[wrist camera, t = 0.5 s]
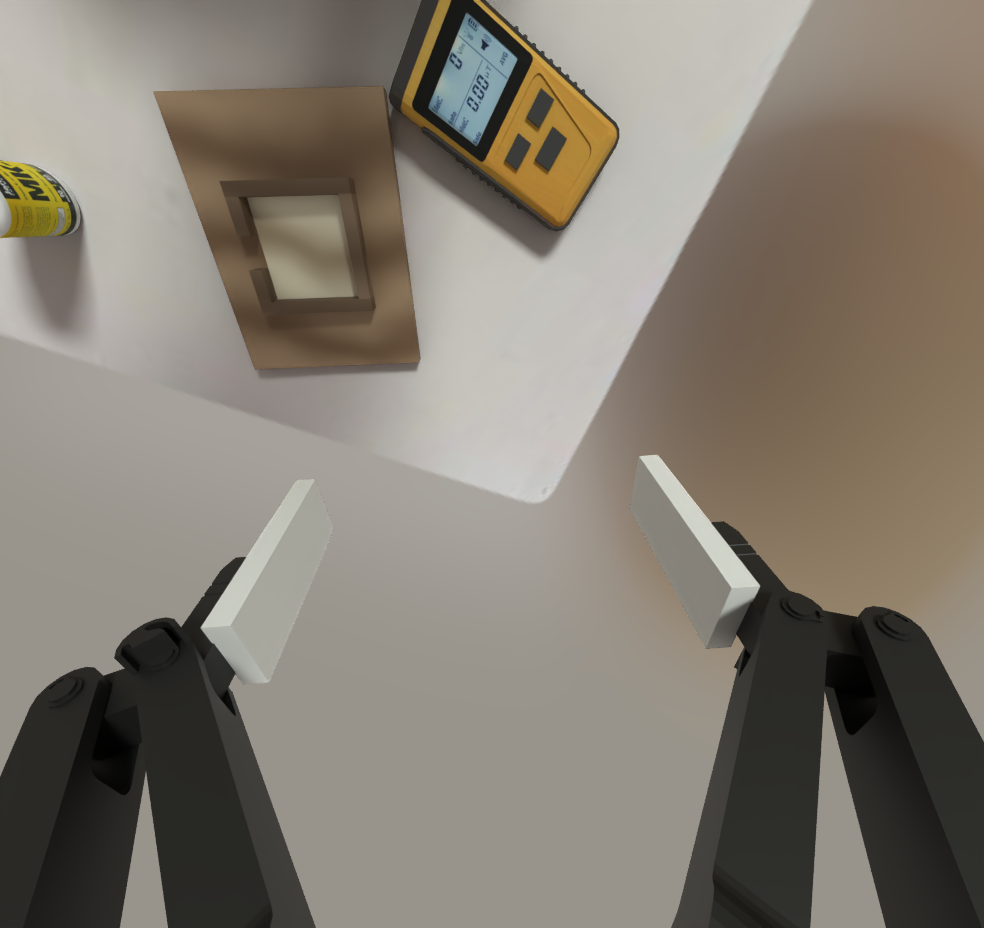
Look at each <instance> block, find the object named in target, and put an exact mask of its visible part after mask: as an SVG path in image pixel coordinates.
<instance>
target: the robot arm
mask: <svg viewBox="0 0 984 928" xmlns="http://www.w3.org/2000/svg"><path fill="white" fill-rule="evenodd" d="M630 510H631V512H632V514H633V516H634V518H635V520H636V522H637V523H638V525H639V527H640V529H641V530H642V533H643V534H644V536H645V538H646V540H647V542H648V544H649V545H650V547H651V549H652V551H653V553H654V555H655V556H656V558H657V560H658V562H659V564H660V566H661V567H662V569H663V571H664V573H665V575H666V577H667V578H668V580H669V582H670V584H671V586H672V587H673V589H674V591H675V593H676V595H677V597H678V599H679V601H680V602H681V604H682V606H683V608H684V610H685V611H686V613H687V615H688V617H689V619H690V621H691V623H692V624H693V626H694V628H695V630H696V632H697V634H698V635H699V637H700V639H701V641H702V643H703V645H704V646H705V648H706V649H709V648H723V647H731V646H732V644H733V641H734V639H735V637H736V635H737V636H738V637H739V639H740V640H741V642H742V644H743V645H744V649H743V651H742V653H741V655H740V656H739V659H738V660H737V662H736V664H735V666H734V667H735V668H736V669H737V673H736V677H735V681H734V685H733V689H732V693H731V697H730V702H729V705H728V710H727V714H726V718H725V722H724V726H723V730H722V734H721V738H720V742H719V746H718V751H717V755H716V758H715V763H714V767H713V771H712V775H711V779H710V783H709V787H708V791H707V795H706V799H705V803H704V807H703V811H702V816H701V820H700V824H699V828H698V832H697V836H696V841H695V844H694V848H693V852H692V857H691V860H690V864H689V869H688V873H687V877H686V881H685V885H684V889H683V893H682V897H681V901H680V905H679V908H678V912H677V914H676V917H675V920H674V922H673V924H672V927H671V928H810V922H811V906H812V888H813V873H814V856H815V840H816V823H817V806H818V790H819V774H820V757H821V740H822V724H823V707H824V691H825V694H826V698H827V702H828V705H829V709H830V712H831V717H832V721H833V725H834V728H835V732H836V736H837V740H838V744H839V748H840V751H841V756H842V760H843V763H844V767H845V771H846V775H847V779H848V783H849V786H850V790H851V794H852V798H853V802H854V806H855V809H856V813H857V817H858V821H859V825H860V829H861V833H862V837H863V841H864V844H865V848H866V852H867V856H868V860H869V864H870V868H871V872H872V875H873V879H874V883H875V887H876V891H877V894H878V898H879V902H880V906H881V910H882V914H883V918H884V921H885V926H886V928H984V742H983V740H982V738H981V736H980V734H979V732H978V730H977V728H976V727H975V725H974V723H973V721H972V719H971V717H970V715H969V713H968V711H967V709H966V708H965V706H964V704H963V702H962V700H961V698H960V696H959V694H958V692H957V691H956V689H955V687H954V685H953V683H952V681H951V679H950V677H949V675H948V673H947V672H946V670H945V668H944V666H943V664H942V662H941V660H940V658H939V656H938V655H937V653H936V651H935V649H934V647H933V645H932V643H931V641H930V639H929V637H928V636H927V635H926V633H925V632H924V631H923V630H922V628H921V627H920V626H918V625H917V624H916V623H915V622H913V621H912V620H911V619H909V618H907V617H906V616H904V615H902V614H900V613H898V612H896V611H893V610H890V609H887V608H884V607H876V606H872V607H868V608H865V609H864V610H863V611H862V612H861V614H860V615H859V616H858V617H855V616H849V615H844V614H839V613H833V612H828V611H824V610H822V608H821V607H820V606H819V605H818V604H816V603H815V602H814V601H813V600H811V599H809V598H807V597H805V596H803V595H802V594H799V593H795V592H792V591H789V590H788V589H787V588H786V587H785V586H784V585H783V583H782V582H781V581H780V580H779V579H778V577H777V576H776V575H775V574H774V573H773V572H772V570H771V569H770V568H769V567H768V566H767V564H766V563H765V562H764V561H763V560H762V559H761V557H760V556H759V555H756V551H755V550H754V549H753V548H752V547H751V546H750V545H748V542H747V541H746V540H745V539H744V537H743V536H742V535H741V534H740V533H739V532H738V531H737V530H736V529H734V528H733V527H731V526H730V525H728V524H727V523H725V522H724V521H723V522H710V521H709V520H708V518H707V517H706V516H705V515H704V514H703V512H702V511H701V510H700V508H699V507H698V506H697V504H696V503H695V502H694V501H693V499H692V498H691V497H690V495H688V493H687V492H686V490H685V489H684V488H683V487H682V485H681V484H680V483H679V482H678V480H677V479H676V478H675V476H674V475H673V474H672V473H671V471H670V470H669V469H668V467H667V466H666V465H665V464H664V462H663V461H662V460H661V458H660V457H659V456H658V455H651V456H639V460H638V465H637V471H636V476H635V482H634V487H633V493H632V498H631V504H630ZM333 531H334V529H333V526H332V523H331V520H330V518H329V515H328V513H327V509H326V507H325V504H324V501H323V498H322V496H321V493H320V490H319V487H318V484H317V482H316V479H306V480H296V481H295V483H294V485H293V486H292V488H291V489H290V491H289V492H288V494H287V495H286V497H285V499H284V500H283V502H282V503H281V505H280V506H279V508H278V509H277V511H276V513H275V514H274V516H273V517H272V519H271V520H270V522H269V523H268V525H267V526H266V528H265V529H264V531H263V532H262V534H261V535H260V537H259V539H258V540H257V542H256V543H255V545H254V546H253V548H252V550H251V551H250V553H249V554H248V556H247V557H238V558H235V559H234V560H232V561H231V562H230V563H229V564H228V565H226V566H225V567H224V568H223V569H222V570H221V571H220V572H219V574H218V575H217V577H216V578H215V580H214V581H213V583H212V586H210V587H209V588H208V590H207V591H206V593H205V596H204V597H202V598H201V600H200V601H199V603H198V604H197V606H196V607H195V608H194V610H193V611H192V613H191V614H190V616H189V617H188V619H187V620H186V621H185V623H184V624H183V626H182V627H180V626H179V624H178V623H177V622H176V621H175V619H171V618H160V619H155V620H153V621H150V622H148V623H145V624H143V625H142V626H140V627H139V628H137V629H136V630H134V631H132V632H131V633H130V634H129V635H128V636H127V637H126V638H125V639H124V640H123V641H122V642H121V643H120V645H119V646H118V648H117V649H116V653H115V657H114V658H115V659H116V660H117V661H118V662H119V663H120V664H121V665H122V666H123V667H124V668H125V669H122V670H119V671H116V672H113V673H110V674H107V675H104V676H103V675H102V674H101V673H100V672H99V671H98V670H96V669H95V668H93V667H84V668H80V669H77V670H74V671H71V672H69V673H67V674H66V675H63V676H62V677H60V678H58V679H57V680H56V681H54V682H53V683H51V684H50V685H49V686H47V687H46V688H45V689H44V690H43V691H42V692H41V693H40V694H39V695H38V696H37V697H36V699H35V700H34V702H33V704H32V705H31V707H30V709H29V711H28V713H27V716H26V718H25V721H24V723H23V725H22V727H21V730H20V732H19V734H18V736H17V739H16V741H15V744H14V746H13V748H12V751H11V753H10V755H9V758H8V760H7V762H6V764H5V767H4V769H3V771H2V774H1V776H0V928H120V923H121V917H122V911H123V905H124V899H125V893H126V887H127V881H128V875H129V869H130V863H131V857H132V851H133V845H134V839H135V833H136V827H137V821H138V815H139V809H140V803H141V797H142V790H143V785H144V778H145V773H147V780H148V787H149V794H150V801H151V809H152V816H153V823H154V830H155V837H156V844H157V852H158V858H159V866H160V872H161V880H162V887H163V894H164V901H165V909H166V915H167V923H168V928H316V927H315V924H314V921H313V919H312V916H311V913H310V910H309V907H308V904H307V902H306V899H305V896H304V893H303V890H302V887H301V885H300V882H299V879H298V876H297V873H296V870H295V868H294V865H293V862H292V859H291V856H290V854H289V851H288V848H287V845H286V843H285V839H284V837H283V834H282V831H281V828H280V825H279V822H278V820H277V817H276V814H275V811H274V808H273V806H272V803H271V800H270V797H269V794H268V791H267V789H266V786H265V783H264V780H263V777H262V774H261V772H260V769H259V766H258V764H257V760H256V757H255V755H254V752H253V749H252V746H251V743H250V740H249V738H248V735H247V732H246V729H245V726H244V723H243V721H242V718H241V715H240V712H239V709H238V706H237V704H236V701H235V698H234V695H233V692H232V691H231V690H230V689H229V685H230V683H231V681H232V679H233V677H234V675H235V674H236V676H237V677H238V678H239V680H240V681H241V682H242V684H256V683H269V681H270V679H271V677H272V674H273V672H274V669H275V667H276V665H277V662H278V660H279V658H280V655H281V653H282V651H283V648H284V646H285V644H286V641H287V639H288V637H289V634H290V632H291V630H292V627H293V625H294V623H295V620H296V618H297V616H298V613H299V611H300V608H301V606H302V604H303V602H304V599H305V597H306V595H307V592H308V590H309V587H310V585H311V583H312V580H313V578H314V576H315V573H316V571H317V569H318V566H319V564H320V562H321V559H322V557H323V555H324V552H325V550H326V548H327V545H328V543H329V541H330V538H331V536H332V534H333Z"/></svg>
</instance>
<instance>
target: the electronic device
mask: <svg viewBox="0 0 984 928" xmlns="http://www.w3.org/2000/svg"><path fill="white" fill-rule="evenodd" d="M389 99H390V103H391V104H392V105H393V107H394V108H396V109H397V110H398V111H400V112H401V113H402V114H404V115H405V116H406V117H408V118H409V119H410V120H412V121H413V122H414V123H416V124H417V125H418V126H419V127H421V128H422V131H423V133H424V134H425V135H427V136H428V137H429V138H431V139H432V140H433V141H435V142H436V143H437V144H438V145H440V146H441V147H442V148H444V149H445V150H446V151H448V152H449V153H450V154H452V155H453V156H454V157H455V158H456V161H457V162H460V161H461V162H462V163H463V164H464V168H468V167H469V168H470V169H471V170H472V174H478V175H479V176H480V180H483V179H484V180H486V181H487V182H488V186H491V185H492V186H493V187H495V191H496V192H498V191H500V192H501V193H503V197H504V198H505V197H508V198H509V199H510V203H516V204H517V208H518V209H521V208H522V209H523V210H525V211H526V212H527V213H529V214H530V215H531V216H533V217H534V218H535V219H537V220H538V221H539V222H541V223H542V224H543V225H544V226H546V227H547V228H548V229H551V230H554V231H559V230H563V229H564V228H565V227H566V226H567V225H568V224H569V223H570V221H571V220H572V218H573V216H574V215H575V213H576V212H577V210H578V208H579V207H580V205H581V203H582V202H583V200H584V198H585V197H586V195H587V194H588V192H589V190H590V189H591V187H592V185H593V184H594V182H595V181H596V179H597V177H598V176H599V174H600V172H601V171H602V169H603V167H604V166H605V164H606V163H607V161H608V159H609V158H610V156H611V154H612V153H613V151H614V149H615V148H616V145H617V143H618V140H619V128H618V126H617V124H616V122H615V121H613V120H612V119H611V118H610V117H609V116H608V115H607V114H606V113H605V112H604V111H603V110H602V109H601V108H600V107H599V106H597V105H596V104H595V103H594V102H593V101H592V100H591V99H590V98H589V97H588V96H587V95H586V94H585V90H584V89H582V90H580V89H579V88H578V87H577V83H576V82H574V83H573V82H572V81H571V80H570V79H569V75H568V74H567V75H564V74H563V73H562V72H561V67H556V66H555V65H554V64H553V60H552V59H549V60H548V59H547V58H546V57H545V56H544V51H541V52H540V51H539V50H538V49H537V48H536V44H535V43H532V44H531V43H530V42H529V41H528V40H527V35H522V34H521V33H520V32H519V31H518V27H517V26H515V27H513V26H512V25H511V24H510V23H509V22H508V21H507V20H506V19H505V18H504V17H503V16H501V15H500V14H499V13H498V12H497V11H496V10H495V9H494V8H493V7H492V6H491V5H490V4H489V3H488V2H487V1H485V0H422V1H421V4H420V7H419V10H418V13H417V15H416V18H415V21H414V24H413V27H412V29H411V32H410V35H409V38H408V41H407V43H406V46H405V49H404V52H403V55H402V58H401V60H400V63H399V66H398V69H397V72H396V74H395V77H394V80H393V83H392V86H391V90H390V94H389Z"/></svg>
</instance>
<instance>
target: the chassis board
mask: <svg viewBox="0 0 984 928" xmlns="http://www.w3.org/2000/svg"><path fill="white" fill-rule="evenodd" d="M154 95H155V98H156V100H157V103H158V106H159V109H160V111H161V114H162V117H163V119H164V122H165V125H166V128H167V130H168V133H169V136H170V139H171V141H172V144H173V147H174V149H175V152H176V155H177V158H178V160H179V163H180V166H181V169H182V171H183V174H184V177H185V180H186V182H187V185H188V188H189V190H190V193H191V196H192V199H193V201H194V204H195V207H196V210H197V212H198V215H199V218H200V220H201V223H202V226H203V229H204V231H205V234H206V237H207V240H208V242H209V245H210V248H211V251H212V253H213V256H214V259H215V261H216V264H217V267H218V270H219V272H220V275H221V278H222V281H223V283H224V286H225V289H226V292H227V294H228V297H229V300H230V302H231V305H232V308H233V311H234V313H235V316H236V319H237V322H238V324H239V327H240V330H241V332H242V335H243V338H244V341H245V343H246V346H247V349H248V352H249V354H250V357H251V360H252V363H253V365H254V368H255V369H274V368H297V367H320V366H343V365H367V364H390V363H413V362H419V361H420V351H419V344H418V336H417V328H416V320H415V312H414V305H413V297H412V289H411V281H410V274H409V266H408V258H407V250H406V242H405V235H404V227H403V219H402V211H401V204H400V196H399V188H398V180H397V172H396V165H395V157H394V149H393V141H392V134H391V126H390V118H389V110H388V102H387V95H386V90H385V88H384V87H383V86H366V87H324V88H283V89H241V90H199V91H157V92H154Z"/></svg>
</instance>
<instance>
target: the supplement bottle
mask: <svg viewBox="0 0 984 928" xmlns="http://www.w3.org/2000/svg"><path fill="white" fill-rule="evenodd" d="M79 224H80V210H79V206H78V204H77V201H76V199H75V197H74V196H73V194H72V193H71V191H70V190H69V189H68V187H67V186H66V185H65V184H64V183H63V182H62V181H61V180H59V179H58V178H57V177H56V176H54V175H53V174H52V173H50V172H48V171H46V170H44V169H42V168H40V167H37V166H34V165H30V164H24V163H16V162H8V161H1V160H0V238H9V237H36V236H63V235H69V234H71V233H73V232H75V231H76V230H77V228H78V227H79Z"/></svg>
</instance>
